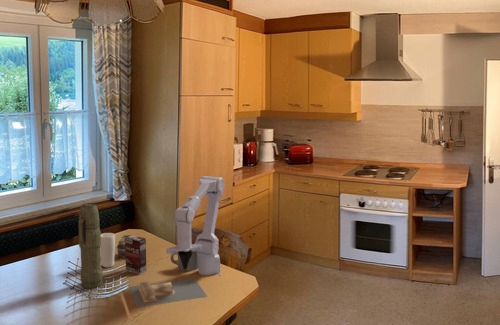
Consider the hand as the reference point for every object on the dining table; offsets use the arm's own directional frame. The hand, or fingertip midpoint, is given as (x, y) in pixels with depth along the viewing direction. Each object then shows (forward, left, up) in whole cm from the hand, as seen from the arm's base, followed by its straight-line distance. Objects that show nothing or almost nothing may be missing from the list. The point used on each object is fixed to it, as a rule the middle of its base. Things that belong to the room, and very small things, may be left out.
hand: (184, 268), depth 210 cm
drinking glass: (+27, -38, -10) cm, 47 cm away
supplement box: (+16, -27, -10) cm, 33 cm away
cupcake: (+17, -49, -10) cm, 53 cm away
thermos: (+36, -18, -10) cm, 41 cm away
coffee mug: (-6, -23, -10) cm, 26 cm away
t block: (+12, +2, -8) cm, 15 cm away
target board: (+8, +2, -9) cm, 12 cm away
